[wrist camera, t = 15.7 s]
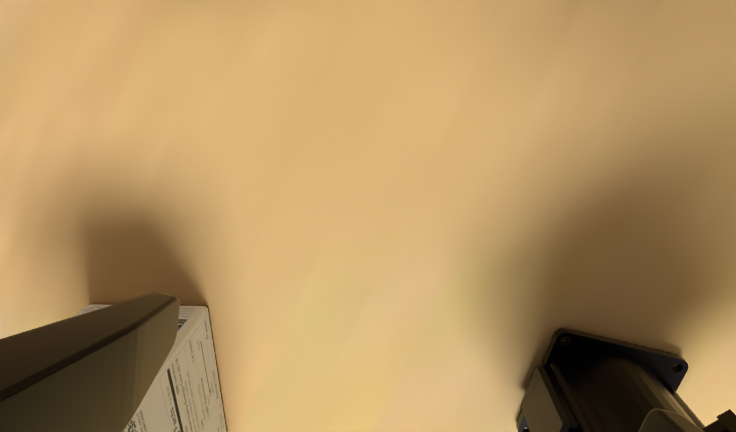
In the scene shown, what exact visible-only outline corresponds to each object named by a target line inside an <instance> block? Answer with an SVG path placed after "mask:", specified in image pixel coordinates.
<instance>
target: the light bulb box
mask: <svg viewBox="0 0 736 432" xmlns="http://www.w3.org/2000/svg"><path fill="white" fill-rule="evenodd" d="M108 306H111V305H105V304H91V305H87V306H86V307H85V308H84V309H82V310H81V311H80V312H78V313H77V314H76V315H75V316H78V315H81V314H85V313H88V312H91V311H94V310H98V309H101V308H104V307H108ZM75 316H74V317H75ZM123 432H227V431H226V425H225V418H224V412H223V406H222V399H221V393H220V386H219V379H218V373H217V367H216V359H215V353H214V346H213V340H212V333H211V327H210V320H209V313H208V309H207V307H205V306H180V309H179V318H178V328H177V336H176V340H175V343H174V345H173V347H172V349H171V351H170V353H169V354H168V356H167V358H166V360H165V362H164V363H163V365H162V367H161V369H160V370H159V372H158V374H157V376H156V377H155V379H154V381H153V383H152V384H151V386H150V388H149V390H148V391H147V393H146V395H145V397H144V399H143V400H142V402H141V404H140V406H139V407H138V409H137V411H136V412H135V414H134V416H133V417H132V419H131V420H130V422H129V423H128V425H127V426H126V428H125V429H124V431H123Z"/></svg>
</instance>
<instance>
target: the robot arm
mask: <svg viewBox="0 0 736 432" xmlns="http://www.w3.org/2000/svg"><path fill="white" fill-rule="evenodd" d="M179 309H180V301H179V298H178V297H177V296H175V295H171V294H167V293H162V292H153V293H150V294H147V295H144V296H140V297H137V298H134V299H130V300H127V301H124V302H121V303H117V304H114V305H111V306H108V307H104V308H101V309H98V310H94V311H91V312H88V313H85V314H81V315H78V316H75V317H71V318H68V319H65V320H62V321H58V322H55V323H52V324H48V325H45V326H42V327H39V328H35V329H32V330H29V331H26V332H22V333H19V334H16V335H12V336H9V337H6V338H3V339H0V432H123V431H124V429H125V428H126V426H127V425H128V423H129V422H130V420H131V419H132V417H133V416H134V414H135V412H136V411H137V409H138V407H139V406H140V404H141V402H142V400H143V399H144V397H145V395H146V393H147V391H148V390H149V388H150V386H151V384H152V383H153V381H154V379H155V377H156V376H157V374H158V372H159V370H160V369H161V367H162V365H163V363H164V362H165V360H166V358H167V356H168V354H169V353H170V351H171V349H172V347H173V345H174V343H175V340H176V336H177V328H178V318H179ZM565 337H568V340H567V341H564V342H561V340H562V338H565ZM675 364H677V366H675V367H672V366H673V365H675ZM687 370H688V364H687V362H686V361H685V360H684V359H683V358H682V357H681V356H679V355H677V354H673V353H669V352H664V351H660V350H656V349H652V348H647V347H643V346H639V345H635V344H630V343H626V342H622V341H618V340H614V339H609V338H605V337H601V336H597V335H592V334H588V333H584V332H580V331H575V330H571V329H567V328H562V329H559V330H557V331H556V332H555V333H554V335H553V337H552V339H551V342H550V344H549V346H548V349H547V351H546V354H545V356H544V358H543V361H542V363H541V364H540V365H539V366H537V367H536V369H535V371H534V374H533V376H532V379H531V381H530V384H529V386H528V388H527V391H526V393H525V396H524V398H523V401H522V403H521V408H522V411H521V414H520V416H519V419H518V421H517V425H516V426H517V429H518V432H736V415H735V414H734V413H733V412H732V411H731V410H730V409H729V410H728V411H726V412H724V413H722V414H721V415H719V416H717V418H718V420H717V421H715V422H713V423H711V424H710V425H708V426H706V427H705V426H704V425H703V424H702V422H701V421H700V420H699V419H698V418H697V417H696V415H695V414H694V413H693V412H692V411H691V409H690V408H689V407H688V406H687V405H686V403H685V402H684V401H683V400H682V399H681V398H680V396H679V395H678V394H677V393H676V391H677V389H678V387H679V385H680V383H681V381H682V379H683V378H684V376H685V374H686V372H687ZM525 427H528V429H524V428H525Z"/></svg>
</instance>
